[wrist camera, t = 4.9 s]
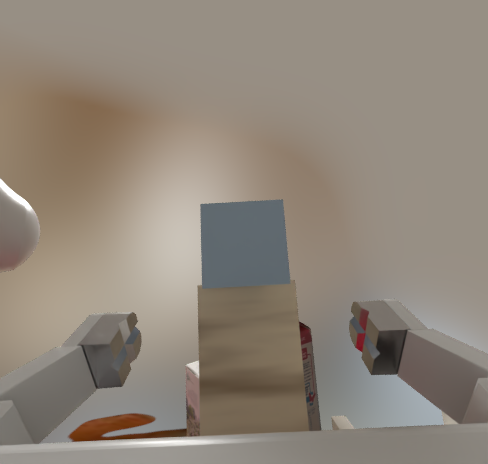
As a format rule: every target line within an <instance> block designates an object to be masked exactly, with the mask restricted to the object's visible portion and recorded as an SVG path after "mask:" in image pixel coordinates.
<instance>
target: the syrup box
mask: <svg viewBox="0 0 488 464" xmlns="http://www.w3.org/2000/svg"><path fill="white" fill-rule="evenodd" d="M186 406H187V407H186V409H187V437H193V436H200V390H199V361H196V362H193V363H190V364H186Z"/></svg>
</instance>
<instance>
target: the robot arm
mask: <svg viewBox="0 0 488 464" xmlns="http://www.w3.org/2000/svg"><path fill="white" fill-rule="evenodd" d="M39 237H40V225H39V221H38V218H37V215H36V213H35V212H34V210H33V209H32V207H31V206H30V205H29V204H28V203H27V202H26V201H25V200H24V199H23V198H22V197H20V196H19V195H17V194H16V193H15V192H13V191H12V190H11V189H10V188H9V187H8V186H7V185H6V184H5V183H4V182H3V181H2V180H1V179H0V272H6V271H11V270H14V269H15V268H17V267H18V266H20V265H21V264H22V263H24V262H25V261H26V260H27V259H28V258H29V256H30V255H31V254H32V253H33V251H34V250H35V248H36V246H37V244H38V241H39ZM351 312H352V313H353V315H354V317H353V318H352V319H351V320H350V325H349V330H350V336H351V339H352V342H353V344H354V346H355V347H356V348H357V349H358V350H360V351H361V352H362V360H363V361H364V363H365V365H366V366H367V368H368V370H369V372H370V373H371V375H394V374H398V376H399V377H400V378H401V379H402V380H403V381H405V382H406V383H407V384H408V385H410V386H411V387H412V388H414V389H415V390H416V391H417V392H419V393H420V394H421V395H422V396H424V397H425V398H426V399H428V400H429V401H430V402H431V403H433V404H434V405H435V406H437V407H438V408H439V409H441V410H442V411H443V412H444V413H445V414H447V415H448V416H449V417H450V418H452V419H453V420H454V421H455V422H457V423H458V424H449V425H428V426H407V427H384V428H365V429H364V428H363V429H342V430H321V431H300V432H279V433H257V434H236V435H214V436H193V437H171V438H150V439H128V440H107V441H86V442H67V443H66V442H64V443H44V444H39V443H40V442H41V441H42V440H43V439H44V438H45V437H46V436H48V434H50V433H51V432H52V431H53V430H54V429H55V428H56V427H57V426H58V425H59V424H60V423H62V422H63V421H64V420H65V419H66V418H67V417H68V416H69V415H70V414H71V413H72V412H74V411H75V410H76V409H77V408H78V407H79V406H80V405H81V404H82V403H83V402H84V401H85V400H87V399H88V398H89V397H90V396H91V395H92V394H93V393H94V392H95V391H96V389H100V388H112V387H122V386H123V384H124V382H125V380H126V378H127V376H128V374H129V372H130V370H131V367H130V363H131V362H132V361H133V360H135V359H136V358H137V356H138V354H139V352H140V347H141V333H140V331H139V330H138V329H137V328H136V327H135V325H136V323H137V322H138V321H137V317H136V314H135V313H133V312H125V313H95V314H91V315H89V316H88V317H87V318H86V320H85V321H84V322H83V323H82V324H81V325H80V326H79V327H78V328H77V329H76V331H75V332H74V333H73V334H72V335H71V336H70V337H69V338H68V339H67V340H66V341H65V343H64V344H63V345H62V346H61V347H55V348H53V349H51V350H50V351H48V352H46V353H44V354H43V355H41V356H39V357H37V358H35V359H34V360H32V361H30V362H28V363H26V364H25V365H23V366H21V367H19V368H17V369H16V370H14V371H12V372H10V373H9V374H7V375H5V376H3V377H2V378H0V464H488V354H487V353H485V352H483V351H480V350H478V349H476V348H474V347H472V346H469V345H467V344H465V343H463V342H460V341H458V340H456V339H454V338H452V337H450V336H447V335H445V334H443V333H441V332H439V331H436V330H434V329H428V328H427V327H425V325H423V324H422V323H421V322H420V321H419V320H418V319H417V318H416V317H415V316H414V315H413V314H412V313H411V312H410V311H409V310H408V309H407V308H406V307H405V306H403V305H402V303H401V302H399V301H398V300H396V299H387V300H379V301H360V302H353V304H352V308H351Z"/></svg>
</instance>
